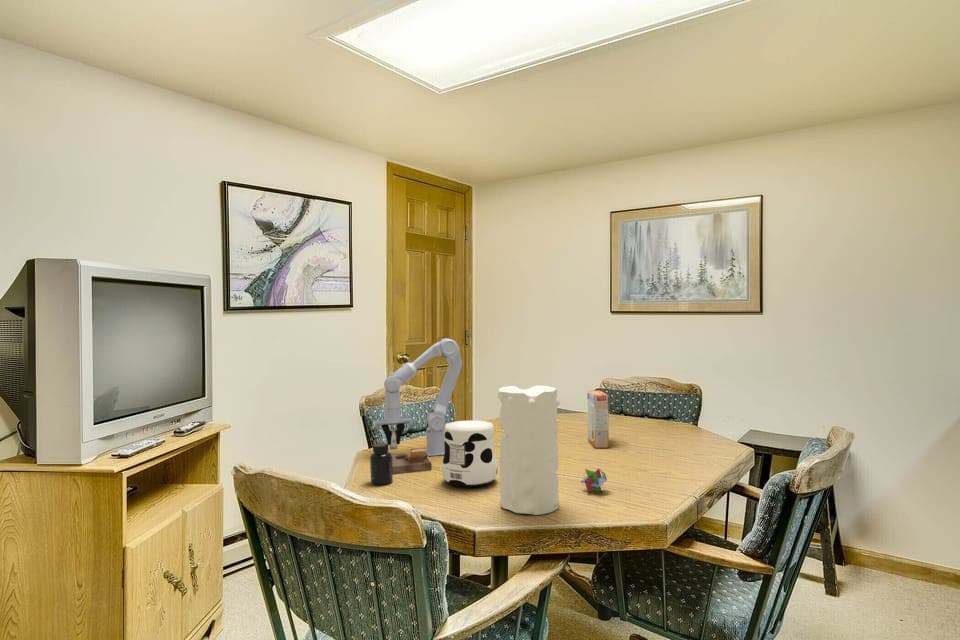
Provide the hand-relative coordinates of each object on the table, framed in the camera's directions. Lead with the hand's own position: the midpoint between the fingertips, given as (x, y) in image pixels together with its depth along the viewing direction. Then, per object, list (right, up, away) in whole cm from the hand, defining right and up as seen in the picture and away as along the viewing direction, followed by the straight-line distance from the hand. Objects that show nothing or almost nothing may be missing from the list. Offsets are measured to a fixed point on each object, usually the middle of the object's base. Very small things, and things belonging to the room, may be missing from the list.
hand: (393, 444), depth 203 cm
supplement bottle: (+2, -5, -33) cm, 34 cm away
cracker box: (+80, -3, +13) cm, 81 cm away
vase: (+46, -4, -56) cm, 73 cm away
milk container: (+29, -4, -35) cm, 46 cm away
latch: (+11, 0, -18) cm, 21 cm away
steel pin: (0, -2, 0) cm, 2 cm away
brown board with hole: (+7, -4, -15) cm, 17 cm away
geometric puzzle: (+66, -4, -46) cm, 80 cm away
